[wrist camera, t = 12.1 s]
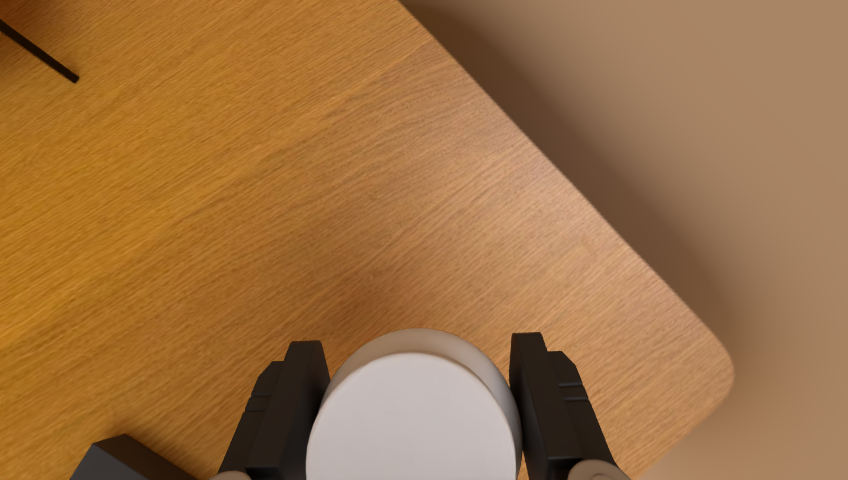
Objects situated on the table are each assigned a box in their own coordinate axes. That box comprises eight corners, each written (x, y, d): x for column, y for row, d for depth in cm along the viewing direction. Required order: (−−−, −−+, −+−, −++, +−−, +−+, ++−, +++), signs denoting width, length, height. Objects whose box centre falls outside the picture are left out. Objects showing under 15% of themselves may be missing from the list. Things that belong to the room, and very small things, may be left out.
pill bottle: (511, 455, 16) (598, 586, 7) (377, 496, 16) (303, 680, 7) (469, 318, 17) (501, 290, 9) (345, 354, 17) (248, 362, 8)
